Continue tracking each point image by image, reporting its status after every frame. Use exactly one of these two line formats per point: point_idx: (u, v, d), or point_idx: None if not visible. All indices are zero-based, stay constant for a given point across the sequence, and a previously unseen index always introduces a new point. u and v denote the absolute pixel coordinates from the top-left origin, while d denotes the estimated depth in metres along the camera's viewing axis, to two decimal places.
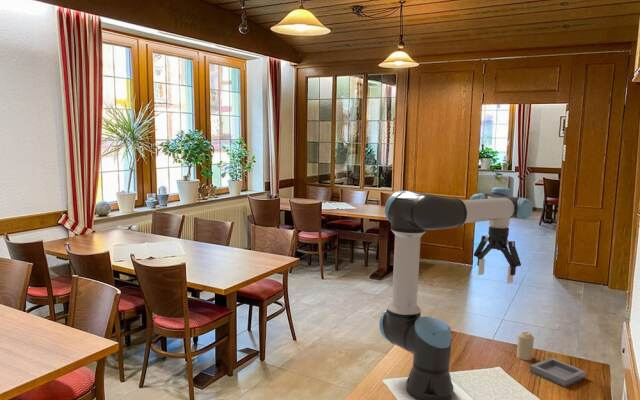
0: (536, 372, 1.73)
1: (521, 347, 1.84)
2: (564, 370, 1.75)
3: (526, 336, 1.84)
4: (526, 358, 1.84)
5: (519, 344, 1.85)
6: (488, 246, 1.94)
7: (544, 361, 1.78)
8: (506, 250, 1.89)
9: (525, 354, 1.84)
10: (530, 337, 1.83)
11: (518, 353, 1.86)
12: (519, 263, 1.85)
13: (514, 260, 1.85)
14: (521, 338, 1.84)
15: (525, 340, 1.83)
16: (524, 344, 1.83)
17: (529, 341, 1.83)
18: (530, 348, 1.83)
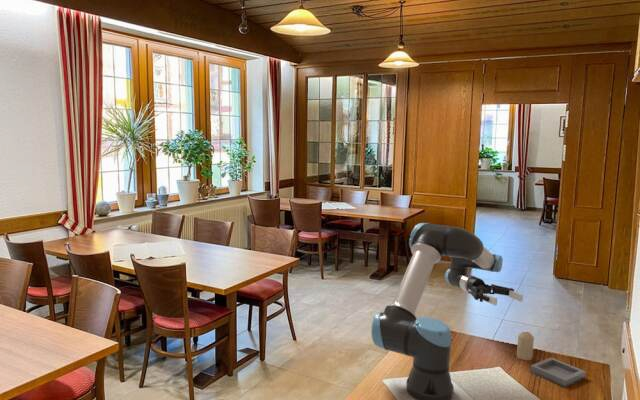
0: (536, 372, 1.73)
1: (521, 347, 1.84)
2: (564, 370, 1.75)
3: (526, 336, 1.84)
4: (526, 358, 1.84)
5: (519, 344, 1.85)
6: (481, 287, 2.03)
7: (544, 361, 1.78)
8: None
9: (525, 354, 1.84)
10: (530, 337, 1.83)
11: (518, 353, 1.86)
12: None
13: (508, 288, 2.05)
14: (521, 338, 1.84)
15: (525, 340, 1.83)
16: (524, 344, 1.83)
17: (529, 341, 1.83)
18: (530, 348, 1.83)
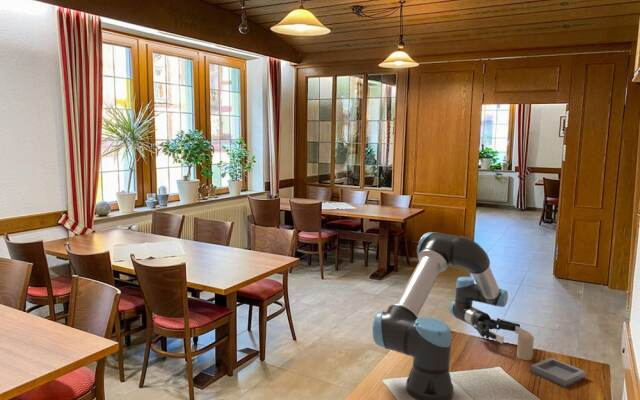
0: (536, 372, 1.73)
1: (521, 347, 1.84)
2: (564, 370, 1.75)
3: (526, 336, 1.84)
4: (526, 358, 1.84)
5: (519, 344, 1.85)
6: (487, 323, 2.01)
7: (544, 361, 1.78)
8: None
9: (525, 354, 1.84)
10: (530, 337, 1.83)
11: (518, 353, 1.86)
12: None
13: (514, 323, 2.03)
14: (521, 338, 1.84)
15: (525, 340, 1.83)
16: (524, 344, 1.83)
17: (529, 341, 1.83)
18: (530, 348, 1.83)
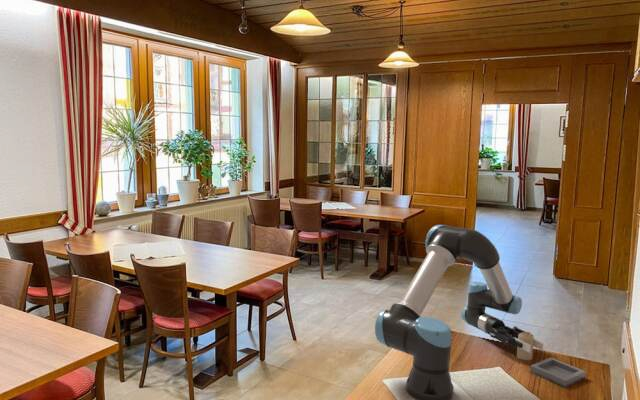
0: (536, 372, 1.73)
1: None
2: (564, 370, 1.75)
3: (526, 336, 1.84)
4: (526, 358, 1.84)
5: None
6: (504, 330, 1.93)
7: (544, 361, 1.78)
8: None
9: (525, 354, 1.84)
10: (530, 337, 1.83)
11: (518, 353, 1.86)
12: None
13: None
14: (520, 338, 1.84)
15: (525, 340, 1.83)
16: None
17: (529, 341, 1.83)
18: None
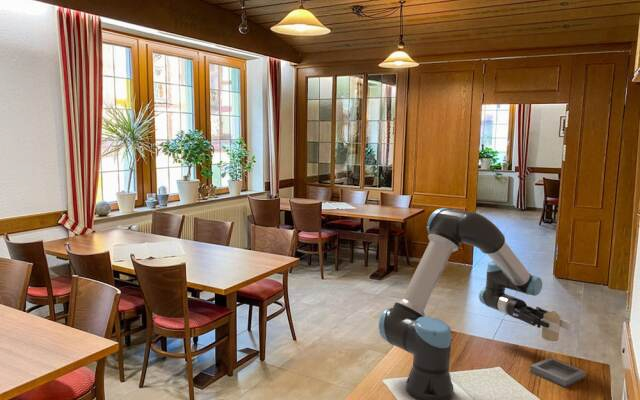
0: (536, 372, 1.73)
1: None
2: (564, 370, 1.75)
3: (552, 315, 1.74)
4: (552, 339, 1.74)
5: None
6: (528, 310, 1.83)
7: (544, 361, 1.78)
8: None
9: (551, 334, 1.74)
10: (557, 316, 1.73)
11: (543, 334, 1.76)
12: None
13: None
14: (546, 318, 1.74)
15: (551, 319, 1.73)
16: None
17: (556, 320, 1.73)
18: None
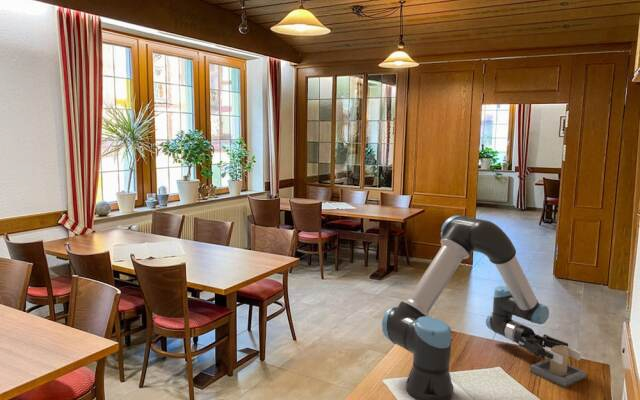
0: (536, 372, 1.73)
1: (554, 361, 1.71)
2: None
3: (560, 350, 1.70)
4: (560, 373, 1.70)
5: None
6: (534, 339, 1.79)
7: (544, 361, 1.78)
8: None
9: (559, 369, 1.70)
10: (565, 351, 1.70)
11: (551, 368, 1.72)
12: None
13: (561, 341, 1.79)
14: None
15: (559, 354, 1.70)
16: None
17: (564, 355, 1.69)
18: (565, 363, 1.70)
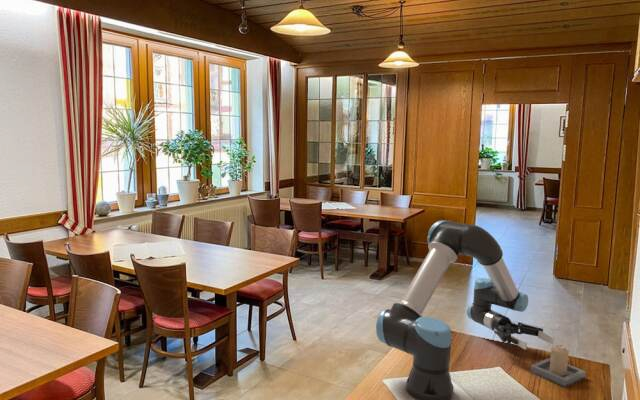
0: (536, 372, 1.73)
1: (554, 361, 1.71)
2: None
3: (560, 350, 1.70)
4: (560, 374, 1.70)
5: (552, 358, 1.72)
6: (508, 327, 1.90)
7: (544, 361, 1.78)
8: None
9: (559, 369, 1.70)
10: (565, 351, 1.70)
11: (551, 368, 1.72)
12: None
13: (536, 327, 1.92)
14: (554, 352, 1.71)
15: (559, 354, 1.70)
16: (558, 358, 1.70)
17: (564, 355, 1.69)
18: (565, 363, 1.70)
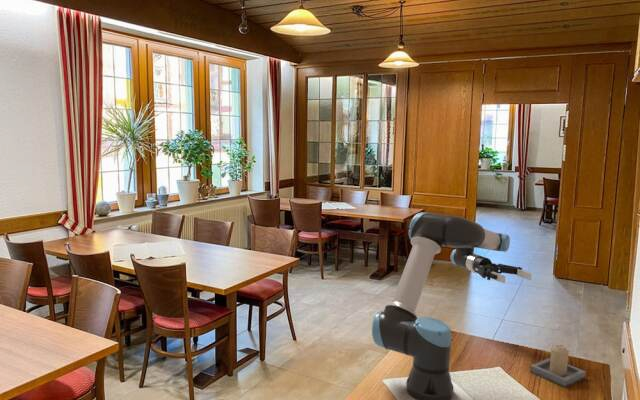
0: (536, 372, 1.73)
1: (554, 361, 1.71)
2: None
3: (560, 350, 1.70)
4: (560, 374, 1.70)
5: (552, 358, 1.72)
6: (488, 266, 1.98)
7: (544, 361, 1.78)
8: None
9: (559, 369, 1.70)
10: (565, 351, 1.70)
11: (551, 368, 1.72)
12: None
13: (516, 267, 2.00)
14: (554, 352, 1.71)
15: (559, 354, 1.70)
16: (558, 358, 1.70)
17: (564, 355, 1.69)
18: (565, 363, 1.70)
